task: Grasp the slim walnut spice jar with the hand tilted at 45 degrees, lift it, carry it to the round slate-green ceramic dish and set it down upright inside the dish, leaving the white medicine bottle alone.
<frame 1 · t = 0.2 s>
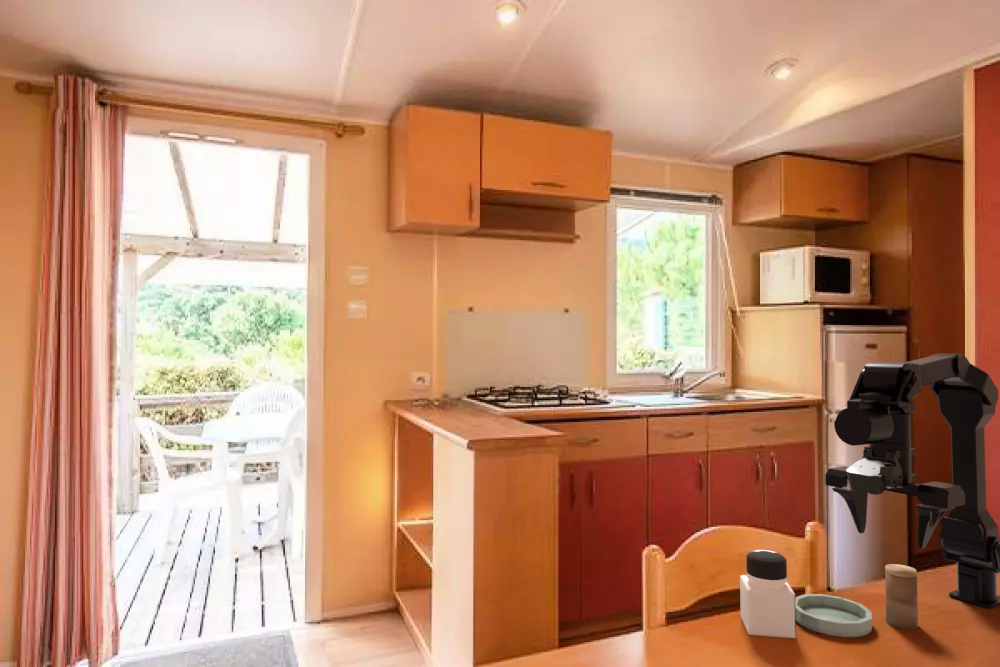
hand: (890, 540, 100), 15 cm above the table, tool pointing down, fingers open, 9 cm apart
medicine bottle: (767, 628, 103), on the table
dish: (831, 621, 105), on the table
spice jar: (901, 623, 104), on the table
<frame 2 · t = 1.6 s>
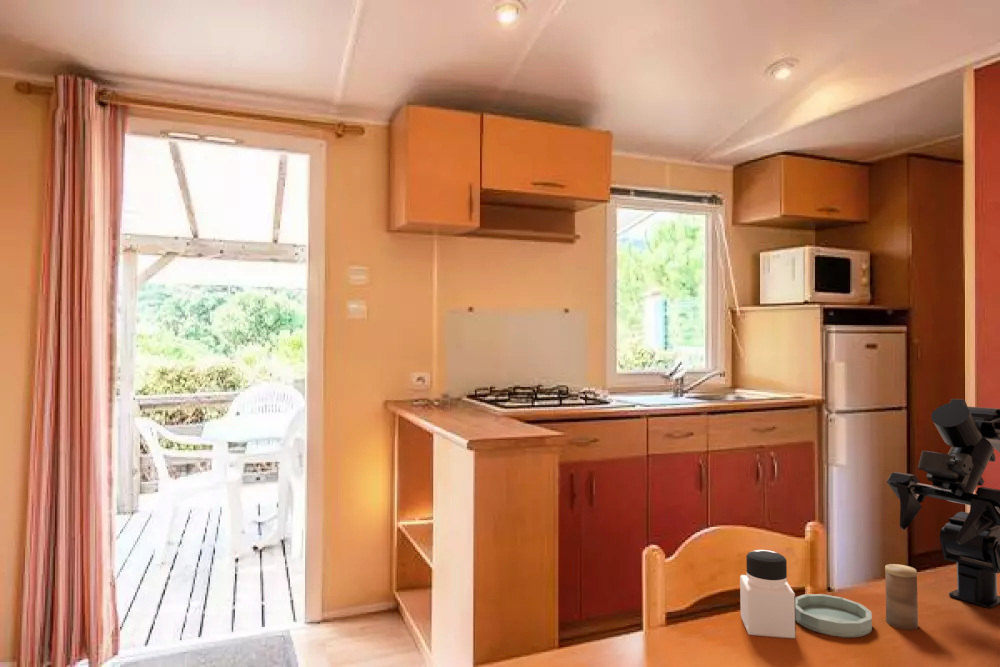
hand: (929, 535, 107), 13 cm above the table, tool tilted 45°, fingers open, 9 cm apart
nothing on the table moved.
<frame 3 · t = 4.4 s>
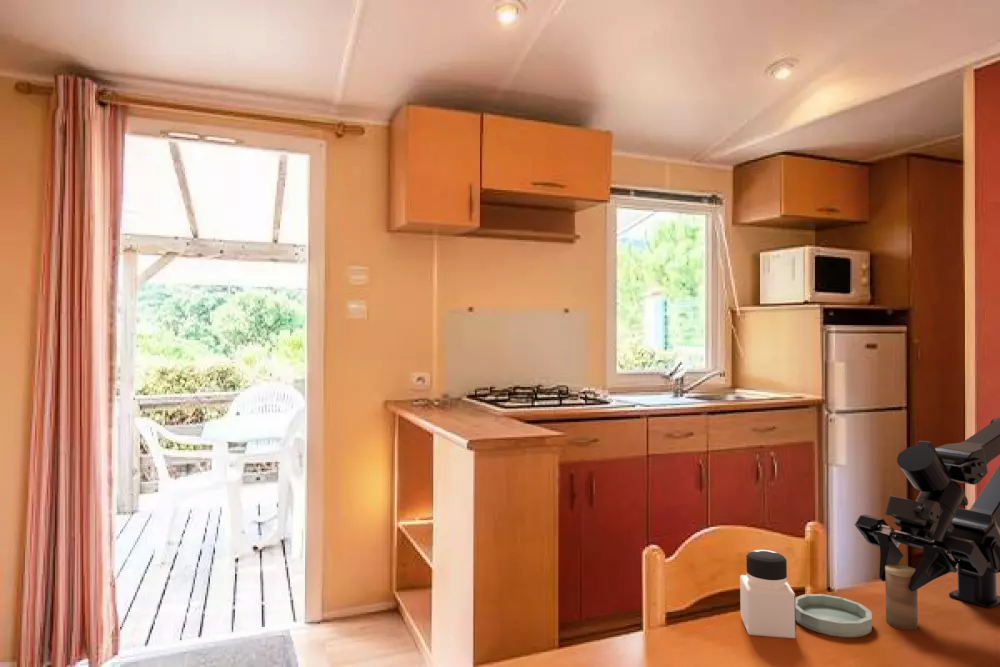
hand: (895, 584, 103), 7 cm above the table, tool tilted 45°, fingers closed on spice jar, 4 cm apart
spice jar: (901, 623, 104), on the table, touching gripper
everything else where it was.
when the fingers open (8 cm above the table, at t = 8.0 s): spice jar stays where it is, resting on dish.
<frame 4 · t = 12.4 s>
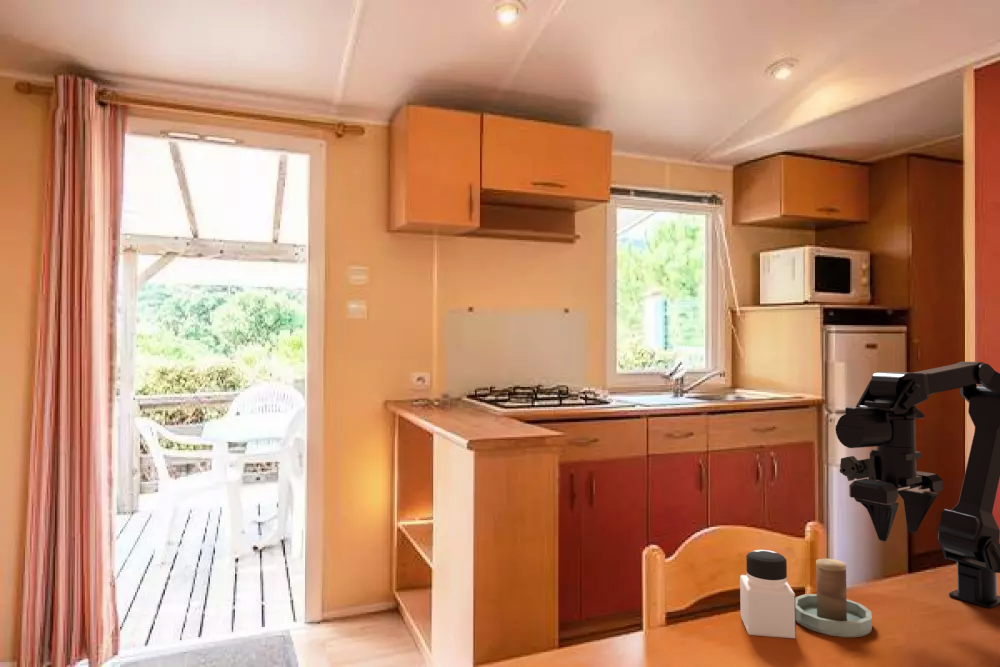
hand: (897, 536, 108), 13 cm above the table, tool pointing down, fingers open, 9 cm apart
spice jar: (831, 617, 105), point 1 cm above the table, touching dish
everything else where it was.
at the end: spice jar 0.1 cm from the dish (horizontally); spice jar tilted 0°; spice jar point 0.6 cm above the table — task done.
